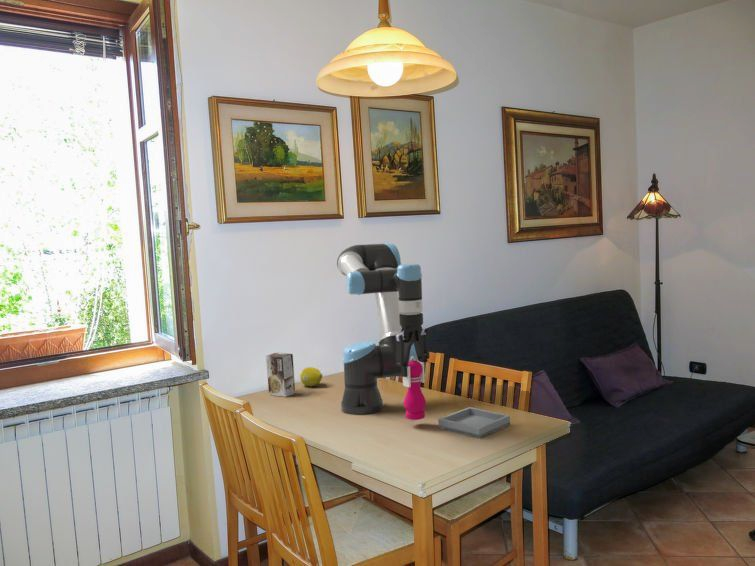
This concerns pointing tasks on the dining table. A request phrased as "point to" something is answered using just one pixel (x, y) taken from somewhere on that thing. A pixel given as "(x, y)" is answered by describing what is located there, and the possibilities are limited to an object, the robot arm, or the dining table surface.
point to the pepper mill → (415, 393)
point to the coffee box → (280, 374)
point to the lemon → (310, 376)
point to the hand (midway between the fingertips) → (414, 384)
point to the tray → (474, 422)
